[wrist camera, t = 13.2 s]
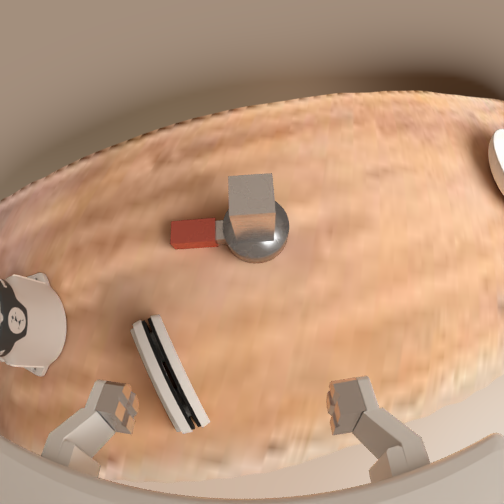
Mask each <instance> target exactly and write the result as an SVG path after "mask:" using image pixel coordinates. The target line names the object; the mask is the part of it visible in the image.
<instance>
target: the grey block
mask: <svg viewBox="0 0 504 504" xmlns="http://www.w3.org/2000/svg"><path fill="white" fill-rule="evenodd" d="M228 181H229V217H230V221H231V224H232V227H233V230H234V233H235V236H236V240H237V243H249V242H265V241H274V233H275V215H276V211H275V200H274V189H273V178H272V173H271V174H254V175H239V176H228Z"/></svg>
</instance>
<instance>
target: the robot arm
mask: <svg viewBox="0 0 504 504" xmlns="http://www.w3.org/2000/svg"><path fill="white" fill-rule="evenodd" d="M65 338H66V316H65V311H64V308H63V305H62V302H61V300H60V298H59V296H58V295H57V294H56V292H55V291H54V290H53V289H52V288H51V287H50V285H49V281H48V279H47V276H46V274H44V273H37V274H34V275H31V276H28V277H23V276H20V275H16V274H13V275H12V276H10V277H8V278H6V279H4V280H3V279H0V361H2V362H6V364H7V365H11V366H14V367H24V368H25V369H27V370H28V371H30V372H32V373H34V374H35V375H37V376H44V375H45V374H46V371H47V369H48V367H49V365H50V364H51V363H52V362H53V361H55V360H56V359H57V358H58V356H59V355H60V353H61V351H62V349H63V346H64V343H65ZM329 388H330V391H329V392H328V393H327V410H328V413H329V414H330V415H331V416H332V417H331V420H330V425H331V430H332V435H337V434H344V433H350V432H353V434H354V435H355V436H356V437H357V438H358V439H359V441H360V442H361V443H362V444H363V445H364V446H365V447H366V448H367V449H368V450H369V451H370V452H371V453H372V454H373V455H374V456H375V457H376V458H377V459H378V461H377V462H376V463H375V464H374V465H373V466H372V467H371V468H370V470H369V474H370V479H371V483H369V484H365V485H360V486H356V487H351V488H347V489H342V490H336V491H331V492H325V493H318V494H311V495H303V496H294V497H282V498H265V499H223V498H205V497H194V496H185V495H177V494H169V493H163V492H157V491H151V490H146V489H141V488H137V487H132V486H127V485H124V484H119V483H116V482H112V481H108V480H105V479H101V478H98V475H99V471H100V467H101V466H100V464H99V463H98V462H96V461H95V460H94V459H92V457H93V456H94V455H95V454H96V453H97V452H98V451H99V450H100V449H101V448H102V447H103V446H104V445H105V443H106V442H107V441H108V440H109V439H110V438H111V437H112V436H113V435H114V434H115V432H121V433H127V434H132V433H133V429H134V425H135V420H134V418H133V417H134V416H135V415H136V414H137V413H138V409H139V401H138V397H137V396H136V394H135V393H133V392H132V391H131V390H132V388H131V386H130V385H129V384H126V383H118V382H111V381H105V380H97V381H96V382H95V383H94V386H93V388H92V390H91V393H90V395H89V398H88V400H87V403H86V406H85V408H81V409H80V410H79V411H77V412H76V413H75V414H74V415H72V416H71V417H70V418H68V419H67V420H66V421H65V422H63V423H62V424H61V425H60V426H58V427H57V428H56V429H54V430H53V431H52V432H51V433H49V436H48V438H47V441H46V444H45V446H44V449H43V452H42V455H41V456H40V455H38V454H36V453H34V452H31V451H29V450H27V449H25V448H23V447H21V446H19V445H18V444H16V443H14V442H12V441H10V440H8V439H7V438H5V437H3V436H1V435H0V504H504V436H503V435H501V434H499V433H493V434H490V435H488V436H487V437H485V438H483V439H481V440H479V441H477V442H476V443H474V444H472V445H470V446H468V447H466V448H464V449H462V450H460V451H458V452H455V453H453V454H451V455H449V456H447V457H445V458H442V459H440V460H437V461H435V462H433V463H430V461H429V458H428V455H427V452H426V449H425V446H424V443H423V441H422V437H420V436H419V435H418V434H416V433H415V432H414V431H412V430H411V429H410V428H409V427H407V426H406V425H405V424H403V423H402V422H401V421H399V420H398V419H397V418H395V417H394V416H393V415H392V414H390V413H389V412H388V411H386V410H385V409H384V408H379V405H378V402H377V399H376V396H375V393H374V390H373V387H372V384H371V382H370V379H369V377H368V376H361V377H356V378H355V377H354V378H348V379H343V380H336V381H331V382H330V385H329Z"/></svg>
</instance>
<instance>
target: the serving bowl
mask: <svg viewBox="0 0 504 504" xmlns="http://www.w3.org/2000/svg"><path fill="white" fill-rule="evenodd" d="M488 158H489V164H490V168H491V172H492V174H493V177H494V179H495V182H496V184H497V186H498V187H499V189H500V191H501V192H502V194H503V195H504V129H498V130H496V131H495V133H494V134H493V136H492V138H491V140H490V143H489V148H488Z"/></svg>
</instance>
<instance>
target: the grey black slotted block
mask: <svg viewBox="0 0 504 504" xmlns="http://www.w3.org/2000/svg"><path fill="white" fill-rule="evenodd" d="M150 317H151V318H149V319H148V321H149V324H150V326H151V329H152V331H153V332H151V333H150V331H149V328H148V326H147V323H146V322H145V320H144V321H141V320H139V321H137V322H135V323H134V324H133V329H131V330H130V331H131V334H132V336H133V339H134V342H135V344H136V347H137V349H138V351H139V354H140V356H141V359H142V361H143V363H144V366H145V368H146V370H147V373H148V375H149V377H150V379H151V381H152V384H153V386H154V388H155V390H156V392H157V394H158V396H159V398H160V400H161V402H162V404H163V406H164V408H165V410H166V412H167V414H168V416H169V418H170V420H171V422H172V424H173V426H174V427H175V429H176V431H177V432H180V431H181V432H182V433H183V434H184V433H189V432H193V429H195V426H194V424H193V422H192V420H191V418H190V417H189V416H192V417H193V419H194V420H195V422H196V424H197V426H198V427H200V426H202V428H203V427H204V426H206V425H207V424H208V423H210V420H209V419H208V417H207V415H206V413H205V411H204V409H203V407H202V405H201V403H200V401H199V399H198V397H197V395H196V393H195V391H194V389H193V387H192V385H191V383H190V381H189V379H188V377H187V375H186V373H185V370H184V368H183V366H182V364H181V362H180V360H179V357H178V355H177V353H176V351H175V349H174V347H173V344H172V342H171V340H170V338H169V335H168V333H167V331H166V328H165V326H164V324H163V321H162V319H161V317H160V315H152V316H150ZM164 361H165V362H166V364H167V366H168V369H169V371H170V373H171V375H172V377H173V379H174V381H175V383H176V385H177V388H176V389H174V388H173V385H172V383H171V381H170V379H169V377H168V375H167V373H166V371H165V368H164V366H163V364H162V363H163V362H164Z"/></svg>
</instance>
